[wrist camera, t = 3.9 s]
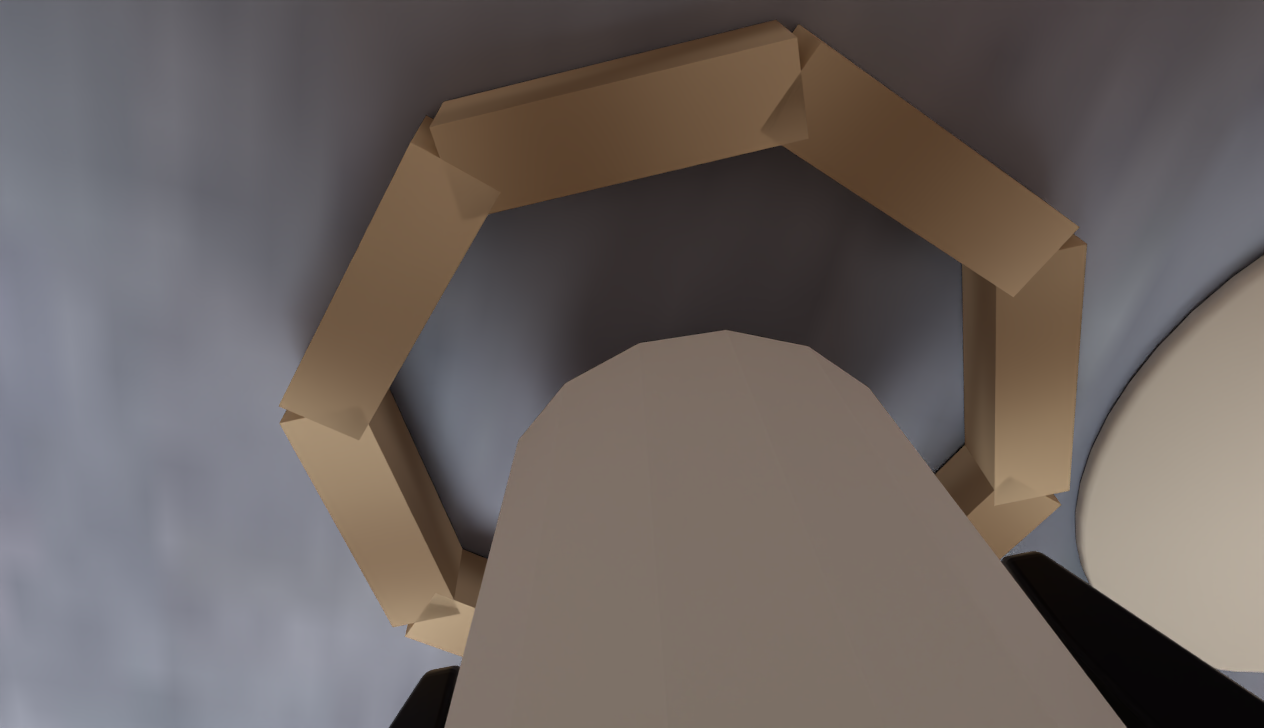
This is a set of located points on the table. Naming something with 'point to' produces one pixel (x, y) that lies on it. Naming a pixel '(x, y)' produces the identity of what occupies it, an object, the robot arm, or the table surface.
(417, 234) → the oak collar
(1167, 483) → the coaster mat
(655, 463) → the shot glass
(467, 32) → the table surface
